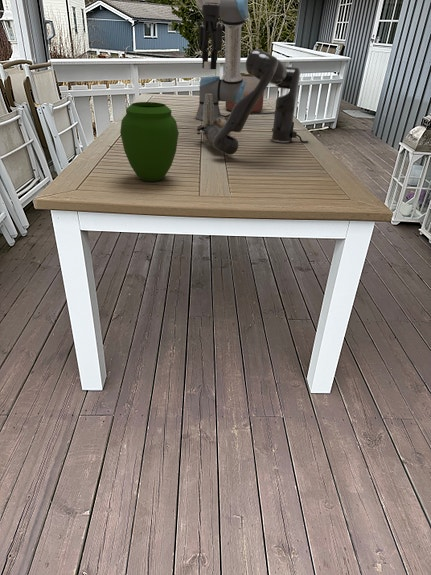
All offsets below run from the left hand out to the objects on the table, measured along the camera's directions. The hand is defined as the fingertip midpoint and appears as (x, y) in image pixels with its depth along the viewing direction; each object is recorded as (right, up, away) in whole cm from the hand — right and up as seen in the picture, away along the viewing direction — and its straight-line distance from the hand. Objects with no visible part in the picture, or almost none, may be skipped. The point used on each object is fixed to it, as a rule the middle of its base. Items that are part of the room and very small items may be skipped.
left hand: (209, 68), depth 181 cm
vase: (-20, -58, -35) cm, 71 cm away
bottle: (-1, -27, +16) cm, 32 cm away
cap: (0, +2, -1) cm, 2 cm away
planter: (+22, +25, +100) cm, 106 cm away
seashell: (+5, -16, +35) cm, 39 cm away
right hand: (-2, -20, +15) cm, 25 cm away
